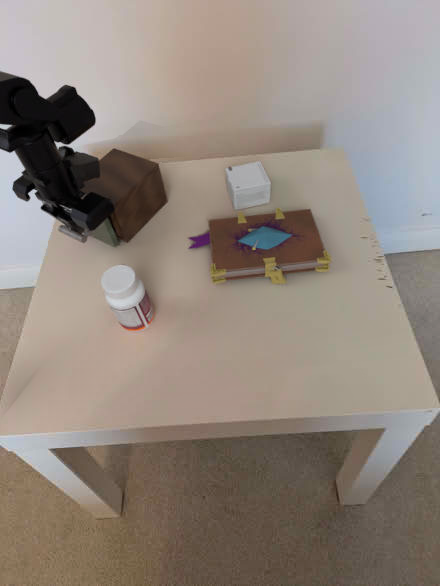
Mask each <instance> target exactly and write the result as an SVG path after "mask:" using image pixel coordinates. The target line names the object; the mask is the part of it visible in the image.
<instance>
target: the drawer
mask: <svg viewBox="0 0 440 586" xmlns="http://www.w3.org/2000/svg"><path fill="white" fill-rule="evenodd" d="M57 230H58V232H59V233H61V234H62V235H65V236H68V237H69V238H72V240H76V241H77V242H79V243H82V244H86V243H87V241H88V237H89V236H90V237H92V238H94V239H96V240H98V241H100V242H103V243H104V244H107V245H109V246H111V247H113V248H117V247H118V246H119V245H120V242H119V239H117V237H116V235H118V236H120V237H121V236H122V234H121V232H120V229H119V227H118V225H117V222H116V220H115V218H114V215H113V213H112V214H111V215H110V216H109V217H108V218H107V219H106V220H105V221H104V222H103V223H101V224H100V225H99V226H98V227H97V228H96V229H95V230H92V231H89V230H87V229H85V231H84V232H83V233H82V234H81V233H79V232H77V231H74V230H72V229H71V228H69V227H68V226H66V225H65V224H60V225H59V226H58V227H57Z"/></svg>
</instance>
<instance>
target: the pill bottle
mask: <svg viewBox="0 0 440 586" xmlns="http://www.w3.org/2000/svg"><path fill="white" fill-rule="evenodd" d="M100 286H101V288H102V290H103V292H104V298H105V301H106V304H107V305H108V306H109V308H110V309H111V311H112V313H113V315H114V317H115V318H116V320H117V321H118V323H119V325H120V326H121V327H122V328H123V330H125V331H127V332H130V333H139V332H143V331H145V330H147V329H148V328H149V327H150V326H151V325H152V324H153V322H154V321H155V316H156V311H155V307H154V305H153V303H152V301H151V298H150V296H149V293H148V291H147V289H146V286H145V284H144V282H143V281H142V279H141V278H139V277H138V276H137V274H136V272H135V270H134V269H133V268H132V267H131V266H129V265H126V264H117V265H113V266H111V267H110V268H108V269H107V270H105V271H104V272H103V274H102V276H101V278H100Z"/></svg>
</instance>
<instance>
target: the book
mask: <svg viewBox="0 0 440 586" xmlns="http://www.w3.org/2000/svg"><path fill="white" fill-rule="evenodd" d="M207 222H208V232H206V233H203V234H201V235H197V236H191V237H189V236H188V237H187V239H189V240H190V241H192V242H194V243H193V244H192V245H190V246H189V247H188V248H187V249H188V250H189V249H198V248H203V247H204V246H207V245H209V246H210V255H211V264H210V269H209V273H210V275H209V276H210V277H211V283H212V284H214V285H215V284H221V283H224V282H226V281H235V280H245V279H254V278H263V277H264V278H269V277H270V281H271V284H272V285H275V284H277V285H279V284H281V285H282V284H287V282H288V281H287V278H285V276H284V275H288V274H289V275H290V274H299V273H300V274H301V273H309V272H318V273H319V272H320V273H327V272H329V271H331V269H330V263H332V262H333V260H332V257H331V255H330V253H329V251H328V250H326V248H325V246H324V243H323V239H322V238H321V237H322V236H321V234H320V231H319V229H318V226H317V223H316V220H315V218H314V214H313V211H312V209H311V208H306V209H297V210H289V211H282V209H281V208H280V207H276V208H275V212H272V213H271V212H270V213H262V214H253V215H244V212H243V211H241V212H238V216H236V217H227V218H226V217H225V218H217V219H209V220H208V221H207Z"/></svg>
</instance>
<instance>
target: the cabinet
mask: <svg viewBox="0 0 440 586" xmlns="http://www.w3.org/2000/svg"><path fill="white" fill-rule="evenodd" d="M99 168H100V177H99V178H97V179H96V178H94V179H91V180H88V181H85V182H83V183H84V185H85V187H84V188H82V189H81V190H80V191H82V192H85V193H86V194H87V195H88V194H89V193H90V192H96V193H99V194H101V195H104V196H106V197H109V198H111V199H112V201H113V203H114V206H115V211H114V212H113V215H114V218H115V220H116V222H117V225H118V227H119V229H120V232H121V234H122V236H121V237H120V236H118V235H116V237H117V240H120V241H122V242H124V243H126V244H128V243H130V241H132V239H133V238H134V237H136V235H137V234H138V233H139V232H140V231H141V230H142V229H143V228H144V227H145V226H146V225H147V224H148V223H149V222H150V221H151V220H152V219H153V218H154V216H155V215H156V214H157V213H158V212H160V211H161V209H163V207H164V206H165V205H166V204H168V202H169V200H168V196H167V193H166V189H165V184H164V180H163V176H162V173H161V167H160V164H159V162H156V161H153V160H150V159H148V158H147V159H146V158H144V157H141V156H139V155H136V154H132V153H130V152H126V151H124V150H121V149H119V148H118V149H117V148H115V147H113V148H112V149H111V150H109V152H107V153H106V154H105V155H104V156H103V157H101V158H100V159H99Z"/></svg>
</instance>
